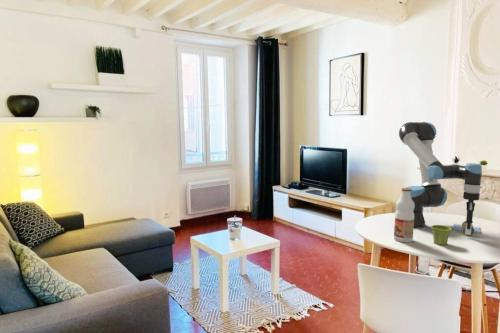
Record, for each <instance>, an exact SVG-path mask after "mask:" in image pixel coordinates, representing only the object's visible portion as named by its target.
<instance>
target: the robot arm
mask: <svg viewBox="0 0 500 333" xmlns="http://www.w3.org/2000/svg"><path fill="white" fill-rule="evenodd" d="M436 135H437V128H436V127H435V125H434V124H433V123H431V122H427V121H422V122H421V121H417V122H416V121H415V122H412V121H410V122H406V123H403V125H402V126H401V127H400V128H399V130H398V137H399V139H400V141H401V143H403V145H405V146H407V147H408V148H409V149H410V150H411V152H412V153H413V154H414V155H415V156H416V157H417V158H418V163H419V164H418V165H419V169H420V174H421V175H420V176H421V181H422V183H421V185H410V186H405V188H410V189H411V199H412V200H413V202H414V204H415V208H414V210H413V212H414V228H416V229H417V228H420V229H421V228H424V227H426V220H425V217H424V208H438V207H442V206H443V205H445V203H446V202H447V199H448V192H447V190H446V189H445V188H443V187H442V184H441V183H440V182H439V181H438V180H446V179H447V180H449V179H450V180H451V179H454V180H455V179H457V180H458V179H459V180H464V182H463V183H464V184H463V197H462V198H463V199H464V200H467V201H465V202H466V203H465V204H466V217H465V219H466V220H465V221H466V222H465V223H466V229H465V234H464V235H465V236H472V235H471V228H472V225H473V223H474V221H473V219H474V218H473V217H474V212H475V207H476V203H475V201H480V192H481V189H482V186H481V185H482V184H481V182H482V176H483V175H482V173H483V166H482V164H481V163H474V162H473V163H472V162H470V163H466V164H465V165H461V164H457V163H456V164H449V165H448V164H447V165H445V164H444V165H443V164H442V162H441V161H440V160H439V159H438V158H437V157H436V155H434V152H433V146H432V144H433V143H434V140H435V138H436ZM414 228H413V229H414Z"/></svg>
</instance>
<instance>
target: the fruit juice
mask: <svg viewBox="0 0 500 333" xmlns="http://www.w3.org/2000/svg"><path fill="white" fill-rule="evenodd" d="M400 190H401V191H400V192H401V195H400V197H399V199H398V200H397V201H396V203H395V207H396V211H395V213H394V227H393V228H394V229H393V231H394V232H393V239H394V240H395V241H397V242H399V243H400V242H401V243H412V242H413V240H414V212H413V210H414V208H415V204H414V202H413V200H412V199H411V189H410V188H406V187H402V188H401V189H400Z"/></svg>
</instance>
